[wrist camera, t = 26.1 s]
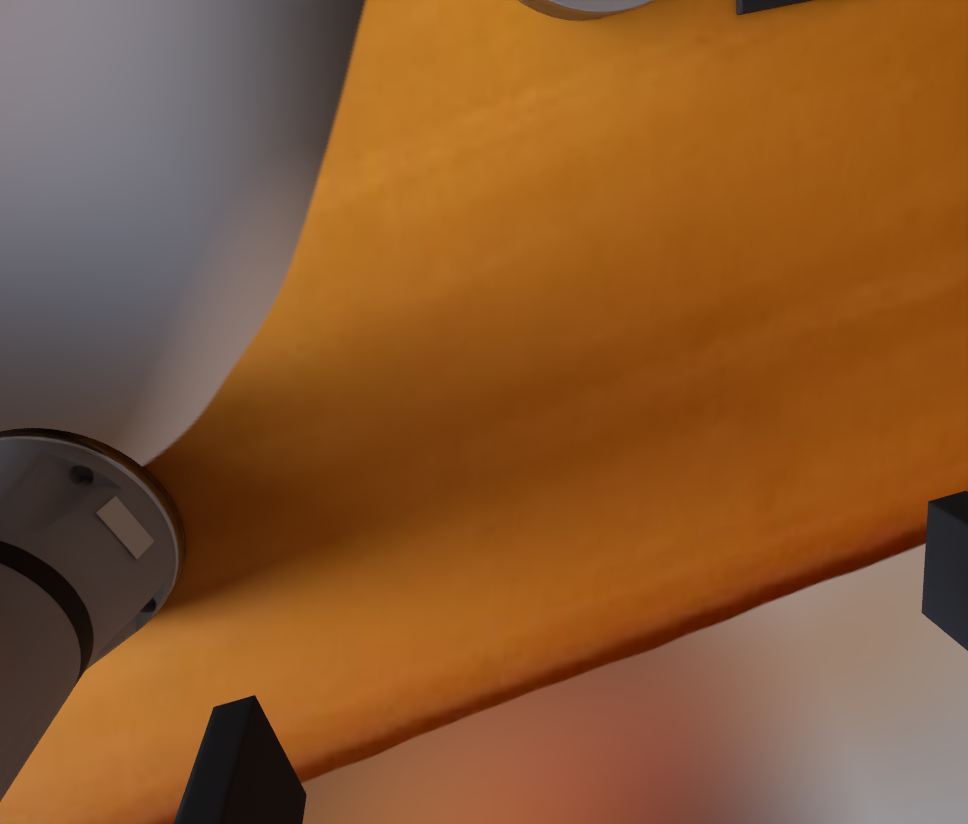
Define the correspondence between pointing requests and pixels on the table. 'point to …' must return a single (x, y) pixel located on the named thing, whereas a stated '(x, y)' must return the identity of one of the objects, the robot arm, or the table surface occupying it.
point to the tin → (558, 11)
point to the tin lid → (598, 6)
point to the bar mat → (762, 5)
